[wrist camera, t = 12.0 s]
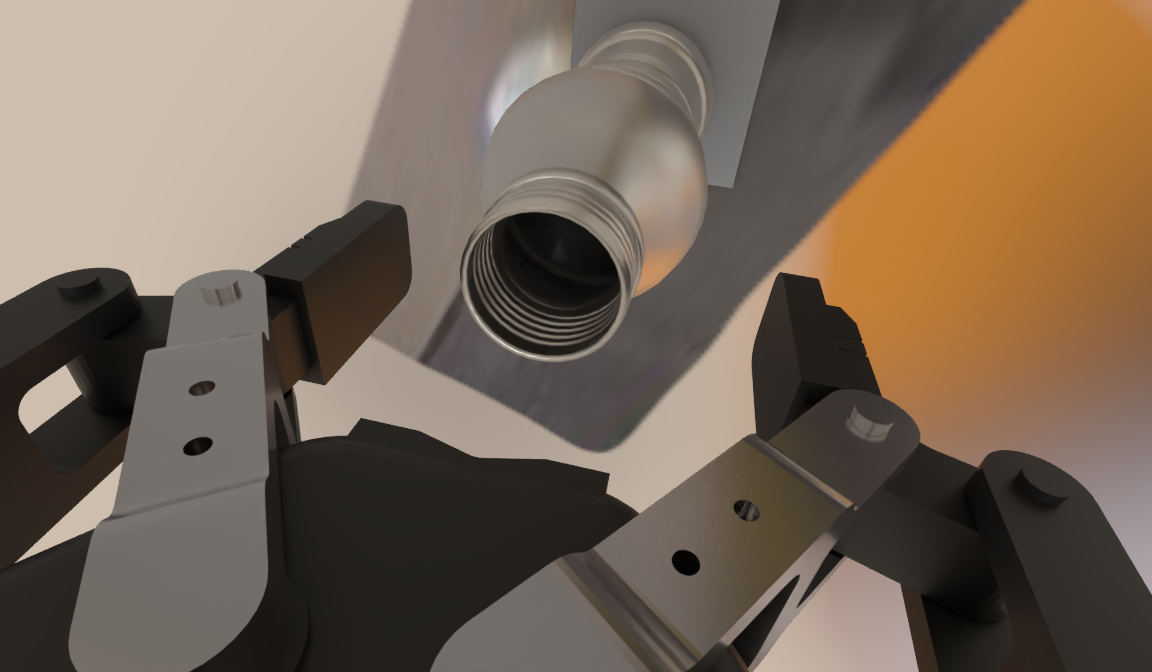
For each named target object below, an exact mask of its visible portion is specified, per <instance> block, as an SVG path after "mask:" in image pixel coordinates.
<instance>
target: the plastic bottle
mask: <svg viewBox="0 0 1152 672" xmlns="http://www.w3.org/2000/svg"><path fill="white" fill-rule="evenodd" d="M712 107H713V85H712V79H711V74H710V71H709V68H708V66H707V63H706V61H705V58H704V57H703V55H702V54H701V52H700V51H699V49H698V47H697V46H696V45H695V44H694V43H693V42H692V41H691V40H690V39H689V38H688V37H687V36H686V35H685V34H683V33H681V32H680V31H678V30H677V29H675V28H673V27H671V26H668V25H665V24H662V23H659V22H650V21H639V22H632V23H627V24H624V25H622V26H619V27H616V28H614V29H612V30H611V31H609V32H608V33H606V34H604V35H603V36H601V37H600V38H599V39H598V40H597V41H596V42H595V43H594V44H593V45H592V46H591V47H590V48H589V49H588V51H587V52H586V54H585V55H584V56H583V58H582V59H581V61H580V63H579V65H578V67H577V68H573V69H571V70H568V71H565V72H562V73H560V74H557V75H554V76H552V77H550V78H547V79H544V80H542V81H541V82H539V83H538V84H536V85H535V86H533V87H531V88H530V89H528V90H527V91H525V92H524V93H523V94H522V95H521V96H520V97H519V98H518V99H517V100H516V101H515V102H514V103H513V104H512V105H511V106H510V107H509V108H508V109H507V110H506V112H505V113H504V115H503V116H502V118H501V119H500V121H499V122H498V124H497V125H496V127H495V129H494V131H493V134H492V136H491V139H490V142H489V144H488V147H487V149H486V154H485V159H484V165H483V170H482V176H481V182H480V198H481V208H482V213H483V219H482V221H481V222H480V223H479V224H478V226H477V227H476V229H475V230H474V232H473V233H472V234H471V236H470V238H469V240H468V243H467V245H466V248H465V250H464V253H463V255H462V261H461V267H460V281H461V288H462V292H463V297H464V300H465V302H466V305H467V307H468V309H469V311H470V313H471V315H472V316H473V318H474V319H475V321H476V322H477V324H478V325H479V327H480V328H481V329H482V330H483V331H484V332H485V333H486V334H487V335H488V336H489V337H490V338H491V339H493V340H494V341H495V342H497V343H498V344H499V345H501V346H502V347H504V348H505V349H507V350H509V351H511V352H513V353H515V354H517V355H520V356H523V357H526V358H528V359H532V360H538V361H544V362H564V361H569V360H575V359H578V358H581V357H583V356H586V355H589V354H591V353H592V352H594V351H596V350H597V349H599V348H600V347H602V346H603V345H604V344H605V343H606V342H607V341H608V340H609V339H610V338H611V337H612V336H613V335H614V333H615V332H616V330H617V329H618V327H619V326H620V324H621V323H622V321H623V319H624V317H625V314H626V312H627V309H628V307H629V303H630V300H631V299H632V298H633V297H635V296H638V295H640V294H642V293H644V292H645V291H647V290H648V289H650V288H652V287H653V286H655V285H656V284H658V283H659V282H660V281H661V280H662V279H663V278H664V277H665V276H666V275H667V274H668V273H669V272H670V271H671V270H672V269H673V268H674V267H675V266H676V265H677V264H678V263H679V262H680V261H681V260H682V259H683V257H684V256H685V254H686V253H687V252H688V250H689V249H690V247H691V246H692V244H693V243H694V241H695V238H696V236H697V234H698V232H699V229H700V227H701V225H702V223H703V218H704V214H705V209H706V205H707V199H708V175H707V169H706V163H705V158H704V153H703V147H702V143H701V141H700V140H701V139H702V137H703V135H704V133H705V131H706V128H707V126H708V123H709V121H710V116H711V112H712Z"/></svg>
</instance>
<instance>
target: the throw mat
mask: <svg viewBox="0 0 1152 672" xmlns="http://www.w3.org/2000/svg"><path fill="white" fill-rule="evenodd" d="M779 3H780V0H576V5H575V18H574V32H573V45H572V58H571V69H573V68H577V67H578V65H579V63H580V61H581V59H582V58H583V56H584V55H585V54H586V52H587V51H588V49H589V48H590V47H591V46H592V45H593V44H594V43H595V42H596V41H597V40H598V39H599V38H600V37H601V36H603V35H604V34H606V33H608V32H609V31H611V30H612V29H614V28H616V27H619V26H622V25H624V24H627V23H632V22H639V21H650V22H659V23H662V24H665V25H668V26H671V27H673V28H675V29H677V30H678V31H680V32H681V33H683V34H685V35H686V36H687V37H688V38H689V39H690V40H691V41H692V42H693V43H694V44H695V45H696V46H697V47H698V49H699V51H700V52H701V54H702V55H703V57H704V58H705V61H706V63H707V66H708V68H709V71H710V74H711V79H712V85H713V107H712V112H711V116H710V121H709V123H708V126H707V128H706V131H705V133H704V135H703V137H702V139H701V140H700V141H701V143H702V147H703V153H704V158H705V163H706V169H707V175H708V185H714V186H721V187H727V188H733V184H734V180H735V177H736V173H737V169H738V165H739V161H740V157H741V153H742V149H743V145H744V141H745V137H746V133H747V129H748V125H749V121H750V117H751V113H752V109H753V105H754V102H755V98H756V94H757V90H758V86H759V82H760V78H761V74H762V70H763V66H764V62H765V58H766V54H767V50H768V46H769V42H770V38H771V34H772V30H773V27H774V23H775V19H776V15H777V11H778V7H779Z"/></svg>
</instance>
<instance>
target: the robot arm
mask: <svg viewBox="0 0 1152 672" xmlns="http://www.w3.org/2000/svg"><path fill="white" fill-rule="evenodd" d="M411 278H412V266H411V255H410V244H409V234H408V223H407V215H406V212H405V210H404V208H403V207H402V206H400V205H394V204H388V203H383V202H377V201H371V200H366V201H364V202H362V203H361V204H360V205H358V206H357V207H355V208H354V209H353V210H351V211H350V212H348V213H347V214H346V215H344V216H343V217H342V218H339V219H336V220H333V221H330V222H328V223H325V224H322V225H319V226H318V227H316V228H315V229H314V230H312V231H311V232H309V233H308V234H306V235H305V236H304V239H302V238H301V239H299V240H298V241H297V242H295V243H294V244H292V245H291V248H289V247H288V248H286V249H285V250H284V251H282V252H281V253H279V254H278V255H276V256H275V257H274V258H272V259H271V260H269V261H268V262H266V263H265V264H264V265H262V266H261V267H259V268H258V269H256V270H255V271H254V272H250V271H245V270H221V271H215V272H210V273H206V274H203V275H200V276H198V277H195V278H192V279H191V280H189V281H187V282H185V283H184V284H182V285H181V286H180V287H179V288H178V289H177V290H176V292H175V294H174V296H138V295H137V293H136V290H135V288H134V286H133V283H132V281H131V279H130V276H129V275H128V274H127V273H125V272H124V271H121V270H117V269H112V268H89V269H82V270H76V271H71V272H67V273H64V274H61V275H57V276H55V277H52V278H50V279H48V280H46V281H43V282H42V283H40V284H38V285H36V286H34V287H32V288H30V289H29V290H27V291H25V292H23V293H21V294H19V295H18V296H16V297H14V298H12V299H10V300H8V301H6V302H4V303H3V304H1V305H0V672H753V671H754V670H755V669H756V667H757V666H758V665H759V664H760V662H761V661H762V660H763V659H764V657H765V656H766V655H767V654H768V652H769V651H770V649H771V648H772V647H773V645H774V644H775V643H776V641H777V640H778V638H779V637H780V635H781V634H782V633H783V632H784V630H785V629H786V628H787V626H788V625H789V624H790V623H791V622H792V620H793V619H794V618H795V617H796V616H797V615H798V614H799V612H800V611H801V610H802V609H803V608H804V607H805V606H806V605H807V603H808V602H809V601H810V600H811V599H812V598H813V597H814V595H815V594H816V593H817V592H818V591H819V590H820V588H821V587H822V586H823V585H824V584H825V583H826V582H827V581H828V580H829V578H830V577H831V576H832V575H833V574H834V573H835V571H836V570H837V569H838V568H839V567H840V566H841V565H842V564H843V563H844V561H845V560H846V559H847V558H850V559H852V560H854V561H856V562H858V563H860V564H862V565H864V566H866V567H868V568H870V569H872V570H875V571H876V572H878V573H880V574H882V575H884V576H886V577H888V578H890V579H892V580H894V581H896V582H898V583H900V584H901V589H902V593H903V598H904V603H905V608H906V613H907V617H908V622H909V627H910V632H911V636H912V641H913V645H914V651H915V655H916V660H917V665H918V669H919V672H1152V595H1151V593H1150V591H1149V590H1148V588H1147V586H1146V584H1145V583H1144V581H1143V579H1142V578H1141V576H1140V574H1139V573H1138V571H1137V569H1136V568H1135V566H1134V564H1133V563H1132V561H1131V559H1130V558H1129V556H1128V554H1127V553H1126V551H1125V549H1124V547H1123V546H1122V544H1121V542H1120V541H1119V539H1118V537H1117V536H1116V534H1115V532H1114V531H1113V529H1112V527H1111V526H1110V524H1109V522H1108V521H1107V519H1106V517H1105V516H1104V514H1103V512H1102V510H1101V509H1100V507H1099V505H1098V504H1097V502H1096V501H1095V499H1094V498H1093V496H1092V495H1091V494H1090V493H1089V492H1088V490H1087V489H1086V488H1084V486H1083V485H1081V484H1080V483H1079V482H1078V481H1077V480H1076V479H1074V478H1073V477H1072V476H1070V475H1069V474H1068V473H1066V472H1065V471H1063V470H1061V469H1060V468H1058V467H1056V466H1055V465H1053V464H1051V463H1049V462H1047V461H1045V460H1043V459H1040V458H1038V457H1035V456H1032V455H1029V454H1026V453H1022V452H1017V451H1009V450H1000V451H995V452H992V453H990V454H988V455H987V456H986V457H985V459H984V460H983V461H982V462H981V464H980V465H979V467H978V468H977V467H974V466H972V465H970V464H967V463H965V462H962V461H960V460H957V459H955V458H953V457H950V456H947V455H945V454H943V453H940V452H938V451H936V450H934V449H931V448H929V447H927V446H925V445H924V444H922V443H920V432H919V429H918V427H917V425H916V423H915V422H914V420H913V419H912V418H911V417H910V416H909V415H908V414H907V413H906V412H905V411H904V410H903V409H901V408H900V407H899V406H897V405H896V404H894V403H893V402H891V401H889V400H887V399H885V398H883V397H882V396H881V393H880V390H879V387H878V384H877V381H876V378H875V375H874V373H873V370H872V367H871V364H870V362H869V358H868V357H866V354H867V353H866V350H865V347H864V344H863V343H861V342H862V338H861V335H860V333H859V330H858V327H857V324H856V323H855V322H854V321H853V320H852V319H851V318H850V317H849V316H848V315H847V314H846V313H845V312H844V310H842V308H840V307H836V306H830V305H826V302H825V299H824V295H823V292H822V288H821V285H820V282H819V280H818V279H816V278H811V277H805V276H799V275H793V274H788V273H782V272H780V273H779V274H778V275H777V277H776V279H775V281H774V284H773V287H772V290H771V293H770V296H769V300H768V302H767V305H766V308H765V311H764V314H763V317H762V320H761V323H760V326H759V329H758V332H757V335H756V339H755V343H754V347H753V353H752V377H753V393H754V407H755V421H756V434H750V435H748V436H746V437H745V438H743V439H742V440H740V441H739V442H737V443H736V444H735V445H733V446H732V447H730V448H729V449H728V450H727V451H725V452H724V453H722V454H721V455H720V456H718V457H717V458H715V459H714V460H713V461H711V462H710V463H709V464H707V465H706V466H704V467H703V468H702V469H700V470H699V471H698V472H696V473H695V474H694V475H692V476H691V477H690V478H688V479H687V480H685V481H684V482H683V483H681V484H680V485H679V486H677V487H676V488H674V489H673V490H672V491H670V492H669V493H668V494H666V495H665V496H664V497H662V498H661V499H659V500H658V501H657V502H655V503H654V504H653V505H651V506H650V507H648V508H647V509H646V510H644V511H643V512H642V513H640V514H639V513H638V512H637V511H635V510H634V509H633V508H632V507H630V506H628V505H627V504H625V503H623V502H622V501H620V500H619V499H617V498H615V497H613V496H611V495H608V494H607V493H606V492H607V486H608V481H609V475H610V474H609V473H605V472H600V471H596V470H592V469H587V468H583V467H578V466H574V465H569V464H565V463H560V462H556V461H551V460H547V459H505V458H504V459H503V458H478V457H473V456H471V455H469V454H466V453H464V452H462V451H460V450H458V449H456V448H454V447H452V446H450V445H448V444H445V443H443V442H441V441H439V440H437V439H435V438H433V437H431V436H429V435H427V434H425V433H422V432H420V431H417V430H413V429H408V428H404V427H399V426H394V425H390V424H385V423H381V422H377V421H372V420H367V419H363V418H361V419H360V420H359V421H358V423H357V424H356V425H355V426H354V428H353V429H352V430H351V432H350V433H349V434H348V436H332V437H322V438H317V439H310V440H306V441H302V442H301V435H300V427H299V418H298V410H297V401H296V396H295V392H294V388H293V385H294V384H295V383H296V382H297V381H298V380H303V381H307V382H312V383H317V384H321V385H326V384H327V382H328V381H329V380H330V379H331V378H332V377H333V376H334V375H335V374H336V372H337V371H338V370H339V369H340V368H341V367H342V366H343V365H344V364H345V363H346V361H347V360H348V359H349V358H350V357H351V356H352V355H353V354H354V353H355V351H356V350H357V349H358V348H359V347H360V346H361V345H362V344H363V343H364V341H365V340H366V339H367V338H368V337H369V336H370V335H371V334H372V333H373V331H374V330H375V329H376V328H377V327H378V326H379V325H380V324H381V323H382V321H383V320H384V319H385V318H386V317H387V316H388V315H389V314H390V313H391V311H392V310H393V309H394V308H395V307H396V306H397V305H398V304H399V303H400V301H401V300H402V299H403V298H404V297H405V296H406V294H407V292H408V290H409V287H410V283H411ZM64 365H66V366H67V368H68V370H69V372H70V373H71V375H72V377H73V379H74V380H75V382H76V384H77V386H78V387H79V389H80V391H81V393H82V394H81V395H80V396H79V397H78V398H76V399H75V400H74V401H72V402H71V403H70V404H68V405H67V406H66V407H64V408H63V409H62V410H60V411H59V412H58V413H57V414H55V415H54V416H53V417H51V418H50V419H49V420H48V421H46V422H45V423H43V424H42V425H41V426H39V427H38V428H37V429H36V430H34V431H33V432H32V433H30V434H29V433H28V432H27V431H26V429H25V427H24V426H23V425H22V423H21V421H20V419H19V416H18V410H19V405H20V402H21V400H22V398H23V397H24V395H25V394H26V393H27V392H28V391H29V390H30V389H31V388H32V387H33V386H35V385H37V384H38V383H40V382H41V381H42V380H44V379H45V378H47V377H48V376H50V375H51V374H52V373H54V372H56V371H57V370H58V369H60V368H61V367H63V366H64ZM122 462H123V465H122V470H121V475H120V480H119V485H118V490H117V495H116V500H115V505H114V509H113V511H112V513H111V515H110V516H109V517H108V518H106V519H104V520H102V521H101V522H100V523H99V524H98V525H97V526H96V528H95V529H92V530H90V531H88V532H85V533H84V534H81V535H79V536H76V537H74V538H72V539H69V540H67V541H65V542H63V543H61V544H58V545H56V546H53V547H51V548H49V549H47V550H44V551H42V552H40V553H38V554H35V555H33V556H30V557H28V558H26V559H23V560H21V561H19V562H17V563H15V562H16V561H17V560H18V559H19V558H20V557H21V556H23V555H24V554H25V553H26V552H27V551H28V550H29V549H30V548H31V547H32V546H33V545H34V544H35V543H36V542H37V541H38V540H40V539H41V538H42V537H43V536H44V535H45V534H46V533H47V532H48V531H49V530H50V529H51V528H52V527H53V526H55V524H56V523H58V522H59V521H60V520H61V519H62V518H63V517H64V516H65V515H66V514H67V513H68V512H69V511H70V510H72V509H73V508H74V507H75V506H76V505H77V504H78V503H79V502H80V501H81V500H82V499H83V498H84V497H85V496H86V495H88V494H89V492H90V491H92V490H93V489H94V488H95V487H96V486H97V485H98V484H99V483H100V482H101V481H102V480H104V478H106V477H107V476H108V475H109V474H110V473H111V472H112V471H113V470H114V469H115V468H116V467H117V466H118V465H119V464H120V463H122Z"/></svg>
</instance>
